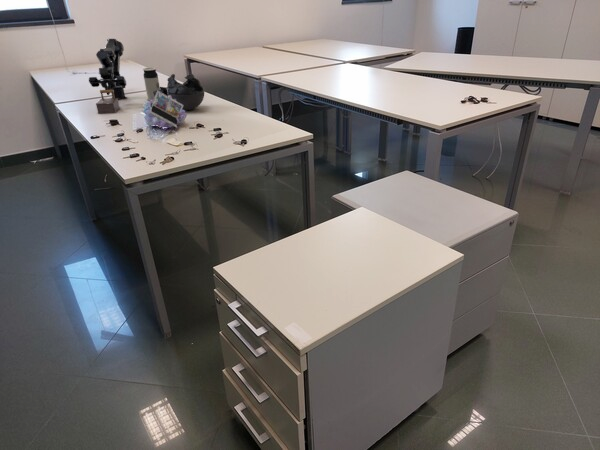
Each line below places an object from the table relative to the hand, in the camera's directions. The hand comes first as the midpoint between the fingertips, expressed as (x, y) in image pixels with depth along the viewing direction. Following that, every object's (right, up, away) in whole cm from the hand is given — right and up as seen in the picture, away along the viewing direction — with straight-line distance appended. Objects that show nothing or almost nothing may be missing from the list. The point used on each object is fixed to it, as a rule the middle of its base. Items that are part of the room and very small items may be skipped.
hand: (107, 94), depth 233 cm
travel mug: (+19, +4, +22) cm, 29 cm away
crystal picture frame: (+41, -24, -25) cm, 54 cm away
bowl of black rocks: (+45, -8, +2) cm, 45 cm away
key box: (+1, -9, 0) cm, 9 cm away
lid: (+1, -5, -2) cm, 5 cm away
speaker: (+28, -4, +9) cm, 30 cm away
